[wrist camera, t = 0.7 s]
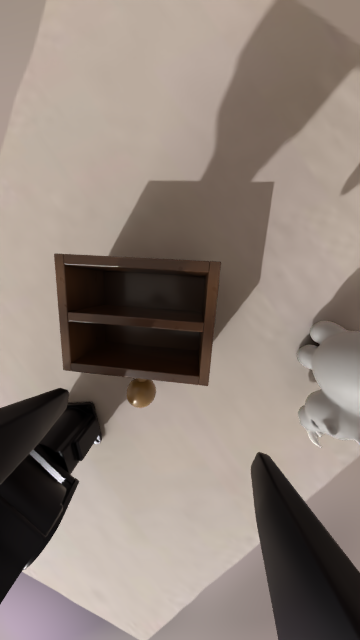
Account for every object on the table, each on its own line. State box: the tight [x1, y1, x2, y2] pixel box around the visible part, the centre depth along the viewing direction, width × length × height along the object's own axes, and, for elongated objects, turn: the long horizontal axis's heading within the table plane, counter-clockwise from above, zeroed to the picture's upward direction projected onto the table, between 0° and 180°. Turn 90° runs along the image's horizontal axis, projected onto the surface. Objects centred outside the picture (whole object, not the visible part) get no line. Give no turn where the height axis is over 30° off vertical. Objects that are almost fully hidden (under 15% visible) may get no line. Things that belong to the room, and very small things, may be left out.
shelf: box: [54, 254, 221, 408], centre depth 18 cm, size 14×13×7 cm
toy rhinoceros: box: [297, 321, 360, 448], centre depth 16 cm, size 7×12×8 cm, turn 157°
